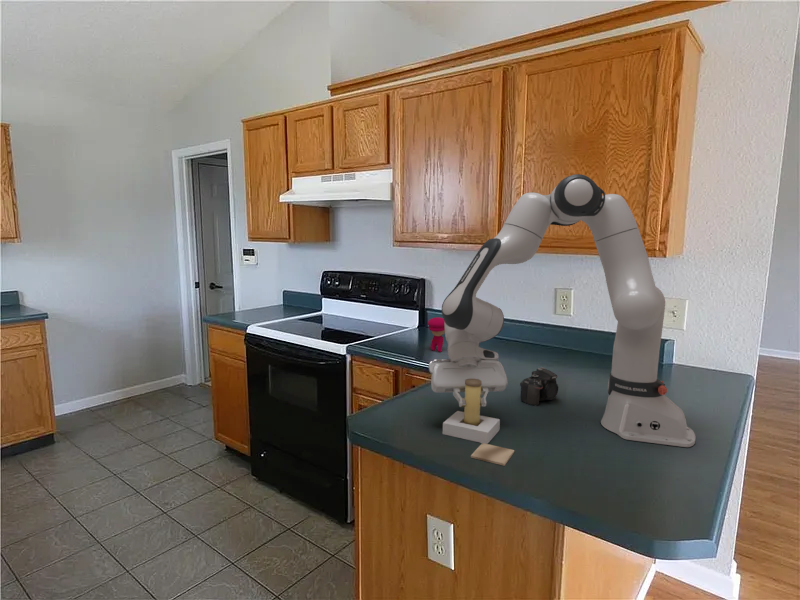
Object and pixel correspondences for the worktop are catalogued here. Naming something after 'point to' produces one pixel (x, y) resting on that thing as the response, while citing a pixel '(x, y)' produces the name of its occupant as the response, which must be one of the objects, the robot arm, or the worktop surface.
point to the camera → (539, 387)
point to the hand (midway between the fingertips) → (473, 405)
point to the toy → (437, 332)
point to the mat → (492, 454)
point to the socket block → (471, 428)
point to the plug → (472, 401)
